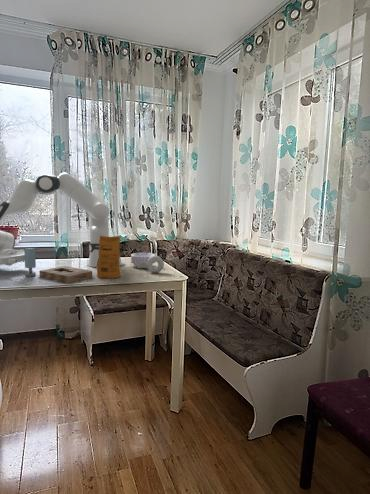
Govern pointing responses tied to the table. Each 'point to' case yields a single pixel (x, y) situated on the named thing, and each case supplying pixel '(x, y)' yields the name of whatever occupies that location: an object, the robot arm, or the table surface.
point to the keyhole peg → (30, 261)
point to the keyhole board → (65, 274)
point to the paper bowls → (141, 259)
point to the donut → (155, 259)
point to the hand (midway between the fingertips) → (24, 259)
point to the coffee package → (108, 257)
